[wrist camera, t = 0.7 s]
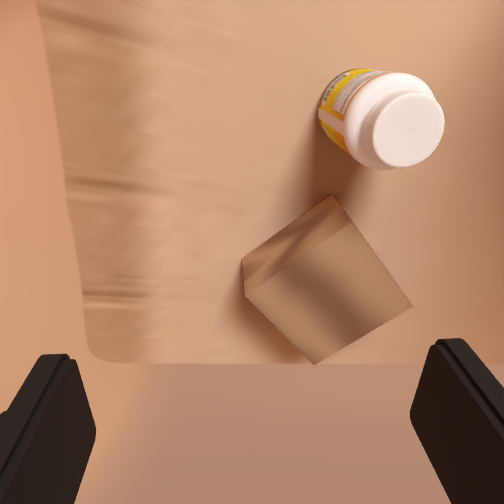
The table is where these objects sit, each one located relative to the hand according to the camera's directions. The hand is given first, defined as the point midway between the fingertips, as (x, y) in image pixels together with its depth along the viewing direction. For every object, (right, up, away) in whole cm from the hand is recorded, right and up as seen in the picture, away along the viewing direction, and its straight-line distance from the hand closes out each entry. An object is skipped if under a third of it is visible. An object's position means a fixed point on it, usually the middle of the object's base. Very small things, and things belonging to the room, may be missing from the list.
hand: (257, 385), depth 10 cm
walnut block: (+6, +2, +26) cm, 26 cm away
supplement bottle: (+8, +15, +19) cm, 25 cm away
